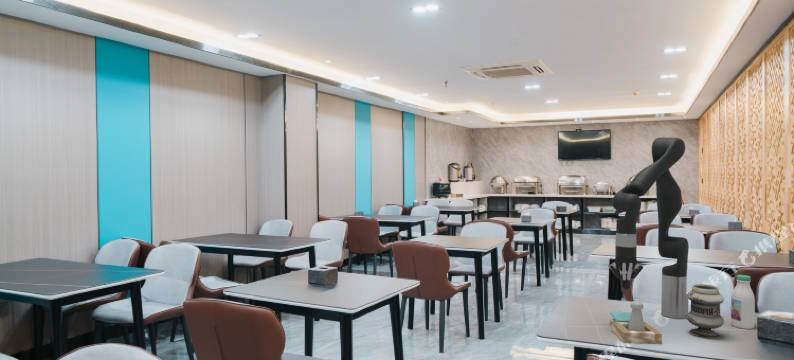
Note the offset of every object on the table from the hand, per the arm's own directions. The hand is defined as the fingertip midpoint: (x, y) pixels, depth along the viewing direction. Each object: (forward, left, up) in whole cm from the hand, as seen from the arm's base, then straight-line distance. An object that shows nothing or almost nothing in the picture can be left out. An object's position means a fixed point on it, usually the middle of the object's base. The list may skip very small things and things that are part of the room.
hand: (625, 289), depth 202 cm
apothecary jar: (-27, +6, -15) cm, 31 cm away
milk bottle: (-47, -6, -15) cm, 49 cm away
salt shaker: (0, +12, -15) cm, 19 cm away
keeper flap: (0, -1, -12) cm, 12 cm away
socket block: (0, +7, -15) cm, 17 cm away
